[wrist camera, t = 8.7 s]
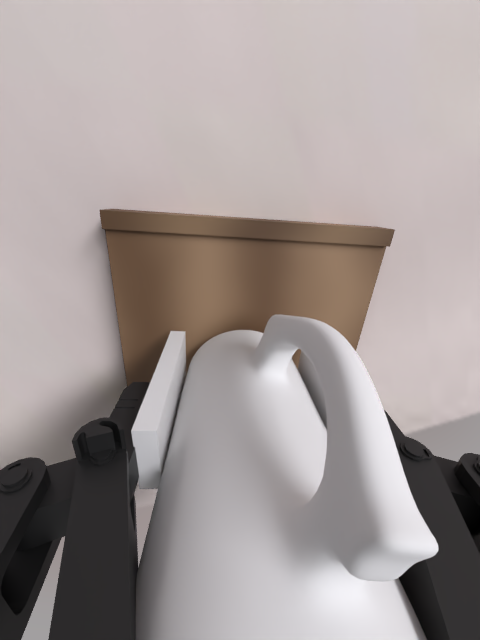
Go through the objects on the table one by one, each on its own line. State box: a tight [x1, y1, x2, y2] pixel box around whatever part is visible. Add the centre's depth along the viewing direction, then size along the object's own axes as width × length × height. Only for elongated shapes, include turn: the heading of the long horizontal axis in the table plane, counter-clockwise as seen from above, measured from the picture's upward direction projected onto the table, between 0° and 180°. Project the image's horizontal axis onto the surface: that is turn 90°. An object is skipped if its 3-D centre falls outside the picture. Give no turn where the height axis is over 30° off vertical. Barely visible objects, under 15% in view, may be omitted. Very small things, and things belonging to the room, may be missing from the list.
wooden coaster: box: [100, 209, 395, 387], centre depth 16 cm, size 14×14×2 cm
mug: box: [136, 314, 438, 640], centre depth 9 cm, size 10×7×12 cm, turn 163°
